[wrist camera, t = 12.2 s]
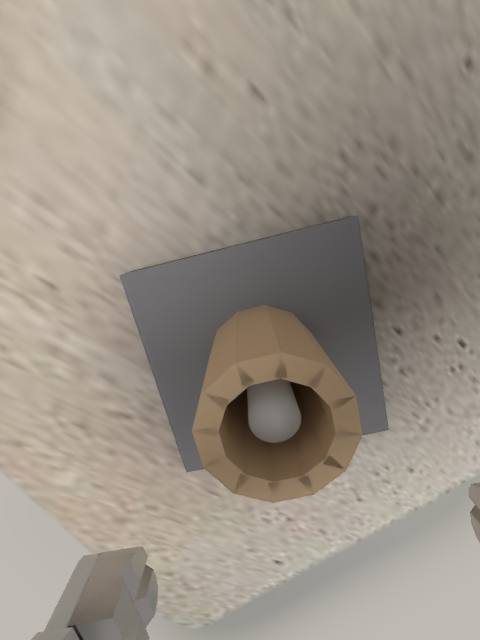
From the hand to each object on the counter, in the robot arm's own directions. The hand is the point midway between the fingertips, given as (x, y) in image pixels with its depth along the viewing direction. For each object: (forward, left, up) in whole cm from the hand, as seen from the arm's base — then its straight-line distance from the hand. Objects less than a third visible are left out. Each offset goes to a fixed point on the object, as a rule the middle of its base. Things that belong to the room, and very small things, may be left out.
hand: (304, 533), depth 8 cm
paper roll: (0, 0, -13) cm, 13 cm away
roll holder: (0, 0, -14) cm, 14 cm away
